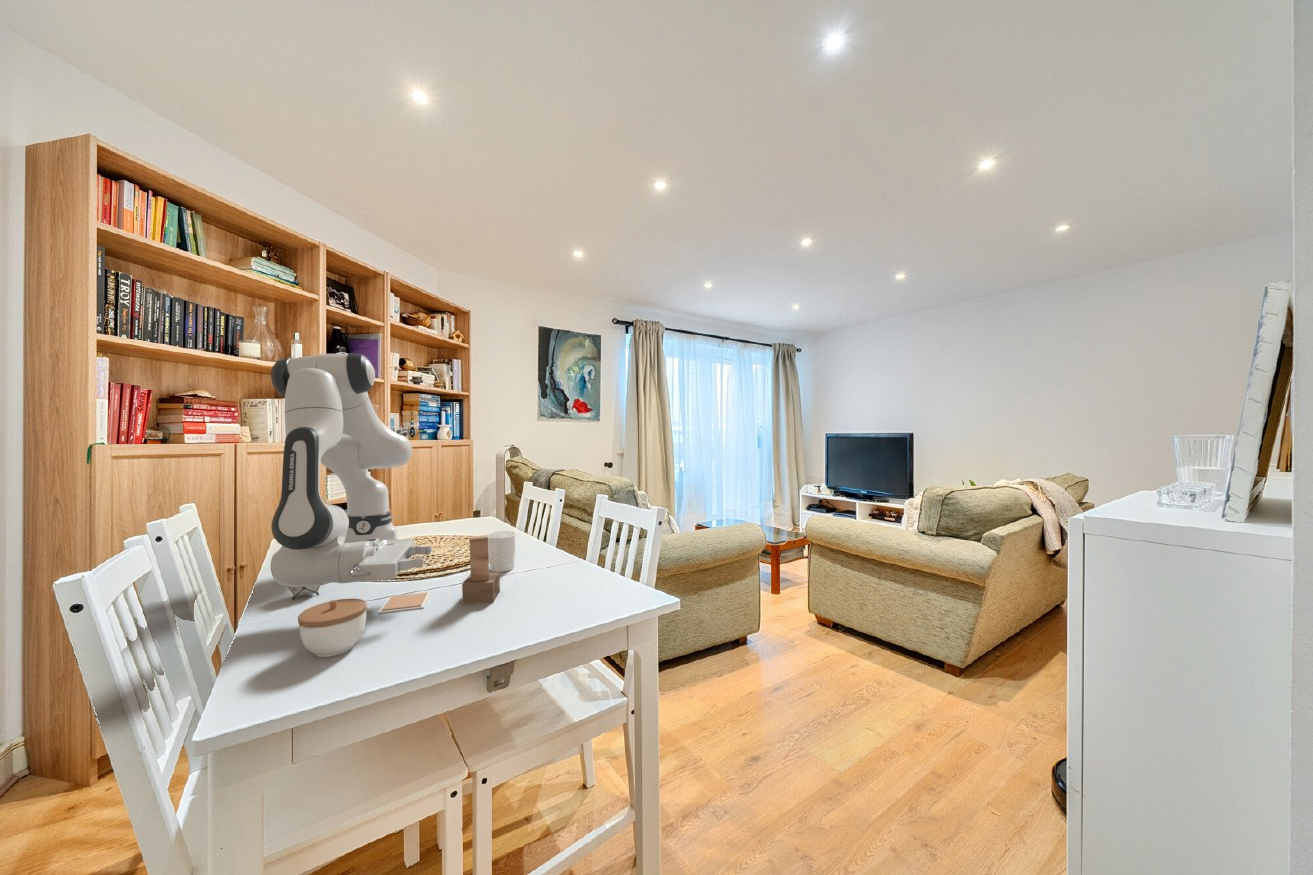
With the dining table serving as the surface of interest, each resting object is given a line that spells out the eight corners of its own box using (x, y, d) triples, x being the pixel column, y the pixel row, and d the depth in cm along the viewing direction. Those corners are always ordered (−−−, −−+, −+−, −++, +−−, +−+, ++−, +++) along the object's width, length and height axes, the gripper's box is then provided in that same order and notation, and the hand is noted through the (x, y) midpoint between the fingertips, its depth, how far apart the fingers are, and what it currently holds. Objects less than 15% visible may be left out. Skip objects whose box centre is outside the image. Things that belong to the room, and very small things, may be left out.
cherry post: (471, 576, 113) (470, 536, 113) (489, 574, 114) (487, 534, 114) (470, 581, 109) (469, 539, 109) (488, 579, 111) (487, 538, 111)
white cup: (481, 571, 131) (480, 536, 131) (499, 563, 139) (498, 530, 138) (504, 574, 129) (503, 539, 128) (521, 565, 136) (520, 532, 136)
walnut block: (471, 593, 116) (470, 573, 115) (499, 591, 116) (499, 572, 116) (462, 604, 109) (462, 583, 108) (493, 603, 109) (492, 582, 109)
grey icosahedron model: (297, 611, 114) (270, 580, 113) (331, 588, 121) (306, 559, 120) (304, 602, 109) (276, 569, 108) (340, 579, 116) (314, 548, 115)
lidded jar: (295, 649, 88) (293, 601, 88) (360, 630, 96) (358, 586, 95) (304, 671, 80) (302, 618, 80) (374, 648, 88) (372, 600, 88)
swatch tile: (389, 598, 113) (389, 595, 113) (430, 593, 115) (430, 591, 115) (378, 613, 104) (378, 610, 104) (423, 608, 106) (423, 605, 106)
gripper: (343, 561, 95) (418, 555, 99) (373, 536, 114) (434, 532, 118) (344, 591, 95) (419, 584, 99) (374, 561, 114) (435, 556, 118)
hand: (427, 555), depth 109 cm, fingers open, 8 cm apart
